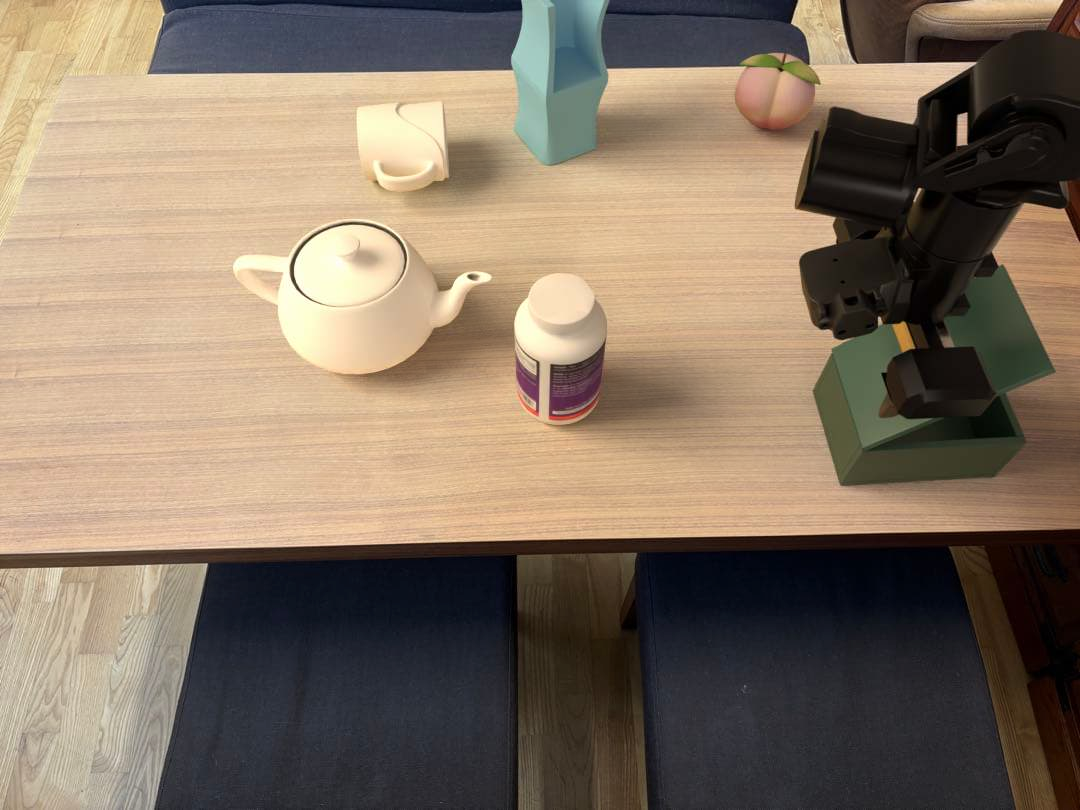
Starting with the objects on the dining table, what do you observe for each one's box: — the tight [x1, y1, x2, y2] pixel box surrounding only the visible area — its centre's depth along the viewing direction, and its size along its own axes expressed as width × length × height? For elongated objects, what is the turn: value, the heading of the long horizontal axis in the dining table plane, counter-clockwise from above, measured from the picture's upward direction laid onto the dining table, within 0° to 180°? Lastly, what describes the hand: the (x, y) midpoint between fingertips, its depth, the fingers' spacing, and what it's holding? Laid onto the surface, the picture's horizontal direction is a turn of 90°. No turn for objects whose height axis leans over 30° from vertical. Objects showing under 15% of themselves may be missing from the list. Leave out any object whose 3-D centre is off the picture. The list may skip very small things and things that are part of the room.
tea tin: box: [812, 352, 1028, 486], centre depth 77 cm, size 14×10×6 cm
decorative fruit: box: [734, 52, 822, 131], centre depth 100 cm, size 9×8×10 cm
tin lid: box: [830, 264, 1057, 450], centre depth 69 cm, size 15×10×4 cm
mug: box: [356, 100, 450, 193], centre depth 95 cm, size 12×9×8 cm
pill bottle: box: [513, 272, 608, 426], centre depth 76 cm, size 8×8×14 cm
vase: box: [510, 0, 611, 166], centre depth 94 cm, size 8×8×20 cm
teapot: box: [232, 218, 493, 375], centre depth 81 cm, size 25×16×12 cm, turn 82°
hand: (868, 368), depth 69 cm, fingers open, 9 cm apart
